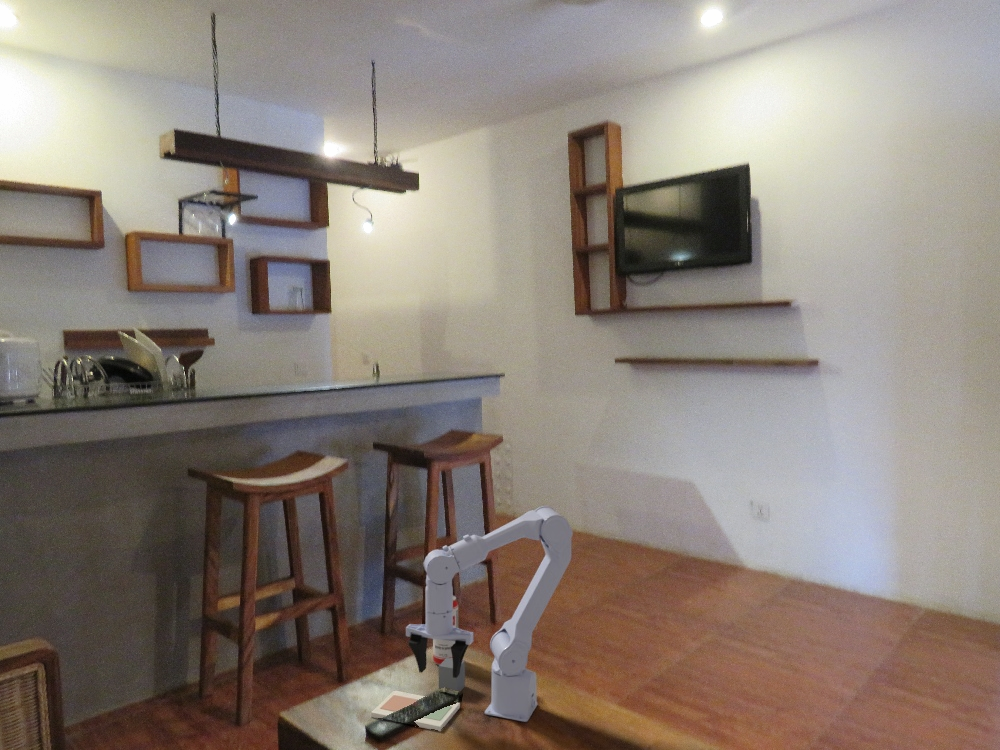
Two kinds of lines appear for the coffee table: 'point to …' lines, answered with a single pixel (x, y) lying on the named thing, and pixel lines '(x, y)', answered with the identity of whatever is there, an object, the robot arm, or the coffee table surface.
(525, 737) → the coffee table surface
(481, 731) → the coffee table surface
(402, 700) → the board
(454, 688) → the block
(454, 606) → the beer can
